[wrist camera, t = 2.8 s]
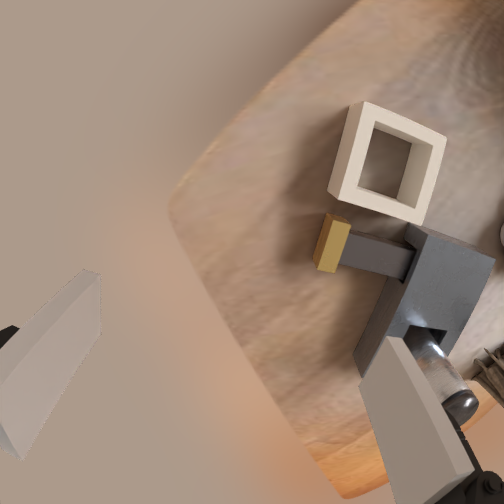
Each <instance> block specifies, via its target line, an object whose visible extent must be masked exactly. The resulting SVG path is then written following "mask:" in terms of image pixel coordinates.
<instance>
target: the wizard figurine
mask: <svg viewBox="0 0 504 504" xmlns="http://www.w3.org/2000/svg"><path fill="white" fill-rule="evenodd" d="M484 349H485V348H484ZM485 351H486V352H487V353H488V354H489V356H490V357H491V358H492V359H493V360H494V361H495V362H494V363H493V364H492V365H490V366H489V367H488V368H487V367H486V366H485V365H484V363H483V362H481V361H480V360H479V359H475V360H474V364H477V365H480V366H481V367H482V368H483V369H484V370H483V371H482V372H481V373H480V374H478V375H477V376H475V377H474V378H473V379H472V380H475V381H477V382H478V383H479V384H480V385H481V386H482V387H484V388H485V389H486V390H487V391H488V392H489V393H490V394H491V395H492V396H493V397H494V398H495V400H496V401H497V402H498V403H500V405H501V406H502V407H503V408H504V354H503V355H502V356H501V355H500V349H496V354H497V357H498V358H496V357H495V356H494V355H493V354H492V353H490V352H489V351H488V350H487V349H485ZM472 380H471V381H472Z"/></svg>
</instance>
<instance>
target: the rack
mask: <svg viewBox="0 0 504 504" xmlns="http://www.w3.org/2000/svg"><path fill="white" fill-rule="evenodd" d="M373 128H376V129H378V130H381V131H383V132H386V133H388V134H391V135H393V136H396V137H398V138H401V139H403V140H405V141H408V142H410V143H412V145H411V149H410V153H409V157H408V160H407V164H406V168H405V171H404V175H403V178H402V181H401V185H400V188H399V191H398V195H397V198H396V199H394V198H391V197H389V196H386V195H383V194H380V193H377V192H374V191H371V190H368V189H365V188H362V187H358V186H357V185H358V182H359V178H360V175H361V171H362V168H363V164H364V161H365V157H366V154H367V150H368V146H369V143H370V139H371V135H372V131H373ZM446 141H447V137H445V136H443V135H441V134H439V133H437V132H435V131H433V130H431V129H429V128H427V127H425V126H423V125H420V124H418V123H416V122H414V121H412V120H410V119H407V118H405V117H403V116H401V115H398V114H396V113H394V112H391V111H389V110H386V109H384V108H381V107H379V106H376V105H374V104H371V103H369V102H366V101H363V102H360V103H356V104H353V105H350V106H349V110H348V114H347V118H346V122H345V126H344V130H343V134H342V137H341V141H340V145H339V149H338V152H337V156H336V160H335V163H334V167H333V170H332V174H331V177H330V181H329V184H328V188H327V191H328V192H329V193H330V194H332V195H333V196H334V197H335V198H337V199H338V200H341V201H345V202H348V203H352V204H355V205H358V206H361V207H365V208H368V209H371V210H374V211H378V212H381V213H384V214H387V215H390V216H393V217H396V218H399V219H402V220H405V221H408V222H411V223H414V224H417V225H420V226H422V223H423V220H424V217H425V214H426V211H427V208H428V205H429V202H430V199H431V196H432V193H433V189H434V186H435V183H436V179H437V176H438V172H439V168H440V165H441V161H442V157H443V153H444V149H445V145H446Z"/></svg>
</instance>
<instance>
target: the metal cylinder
mask: <svg viewBox="0 0 504 504" xmlns="http://www.w3.org/2000/svg"><path fill="white" fill-rule="evenodd" d="M403 341H404V343H405V344H406V346H407V348H408V349H409V351H410V352H411V354H412V356H413V357H414V359H415V361H416V362H417V364H418V366H419V367H420V369H421V371H422V372H423V374H424V376H425V377H426V379H427V381H428V382H429V384H430V386H431V388H432V389H433V391H434V393H435V395H436V396H437V398H438V400H439V402H440V403H441V405H442V407H443V409H446V410H447V411H448V412H449V413H450V414H451V415H452V416H453V417H454V418H455V419H456V421H457V423H458V424H459V426H461V425H463V424H464V423H465V422H466V421H468V420H469V419H470V418H471V417H472V416H473V414H474V413H475V412H476V410H477V408H478V405H479V401H478V399H477V398H476V396H475V395H474V393H473V392H472V391H471V390H470V388H469V387H468V385H467V384H466V383H465V381H464V380H463V378H462V377H461V375H460V374H459V372H458V371H457V370H456V368H455V367H454V365H453V364H452V362H451V361H450V360H449V358H448V357H447V355H446V354H445V353H444V351H443V350H442V349H441V347H440V346H439V344H438V343H437V342H436V340H435V339H434V338H433V336H432V335H431V334H430V332H429V331H428V330H427V328H426V327H422V326H415V325H410V326H409V328H408V330H407V332H406V334H405V335H404V337H403Z"/></svg>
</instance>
